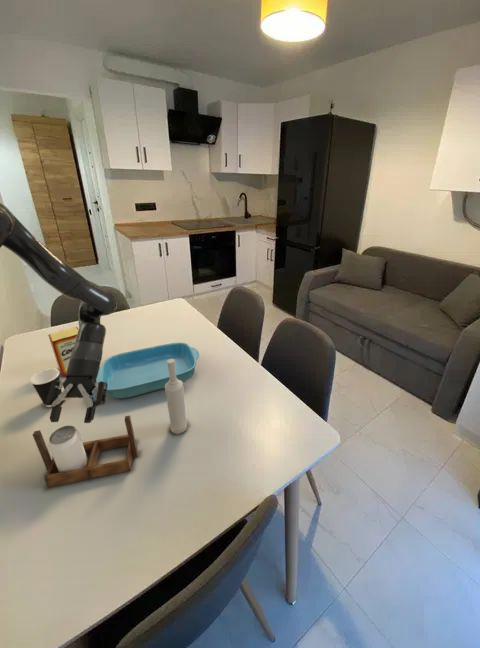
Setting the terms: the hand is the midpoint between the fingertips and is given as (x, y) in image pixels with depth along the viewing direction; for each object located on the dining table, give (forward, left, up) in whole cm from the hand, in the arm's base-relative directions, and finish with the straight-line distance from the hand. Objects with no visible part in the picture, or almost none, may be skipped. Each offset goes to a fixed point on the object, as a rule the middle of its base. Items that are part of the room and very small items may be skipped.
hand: (70, 422), depth 75 cm
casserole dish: (+16, +31, -13) cm, 37 cm away
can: (-1, -3, -13) cm, 13 cm away
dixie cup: (-15, +25, -13) cm, 31 cm away
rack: (+4, -3, -12) cm, 13 cm away
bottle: (+26, +4, -13) cm, 29 cm away
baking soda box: (-14, +44, -13) cm, 47 cm away
